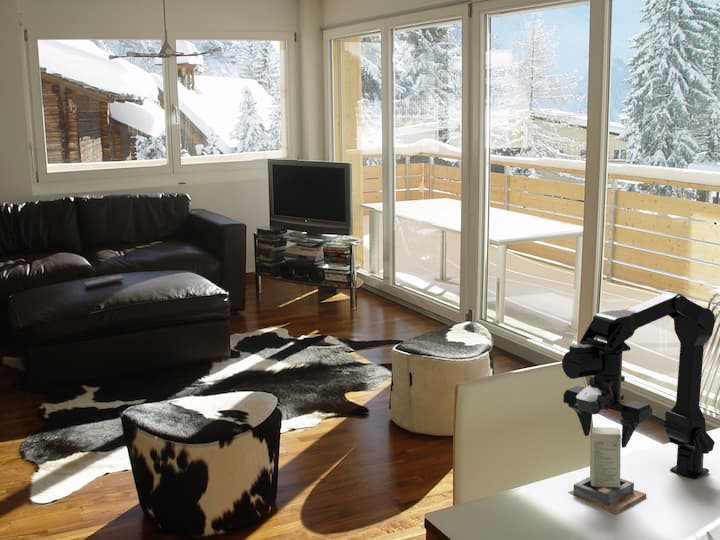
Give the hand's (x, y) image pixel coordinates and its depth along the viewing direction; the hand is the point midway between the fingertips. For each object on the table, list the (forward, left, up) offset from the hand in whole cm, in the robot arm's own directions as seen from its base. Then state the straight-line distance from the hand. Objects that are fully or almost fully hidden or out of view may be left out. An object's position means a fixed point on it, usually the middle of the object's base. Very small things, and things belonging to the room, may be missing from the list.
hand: (604, 441), depth 178 cm
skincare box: (0, 0, -10) cm, 10 cm away
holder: (-1, +1, -13) cm, 13 cm away
